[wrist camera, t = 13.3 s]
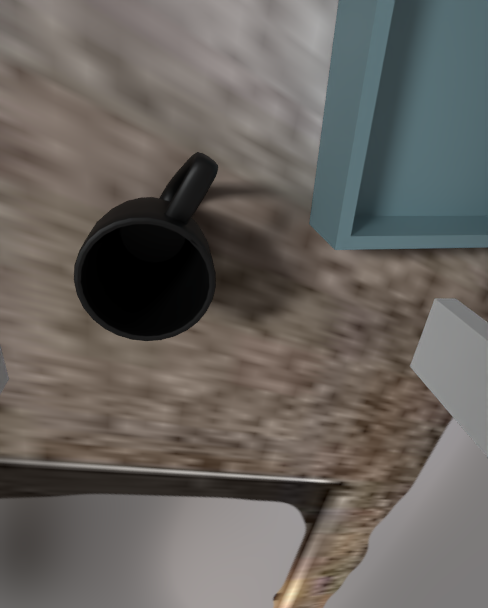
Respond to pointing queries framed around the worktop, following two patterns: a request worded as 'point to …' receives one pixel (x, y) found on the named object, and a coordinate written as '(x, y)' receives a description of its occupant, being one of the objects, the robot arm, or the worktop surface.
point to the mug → (150, 261)
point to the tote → (405, 127)
